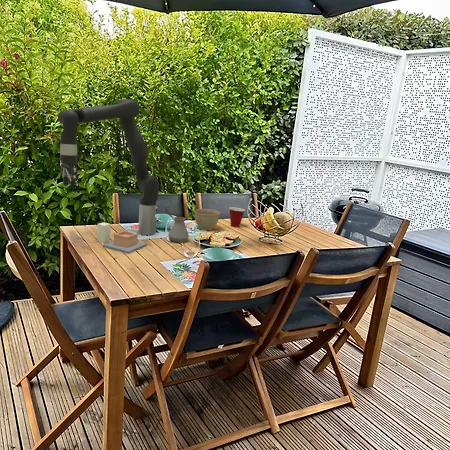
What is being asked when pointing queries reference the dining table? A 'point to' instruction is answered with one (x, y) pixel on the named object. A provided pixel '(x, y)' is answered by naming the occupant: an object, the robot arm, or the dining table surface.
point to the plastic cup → (236, 216)
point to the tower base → (126, 250)
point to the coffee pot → (178, 229)
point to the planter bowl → (206, 218)
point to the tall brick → (103, 232)
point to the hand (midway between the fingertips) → (69, 187)
